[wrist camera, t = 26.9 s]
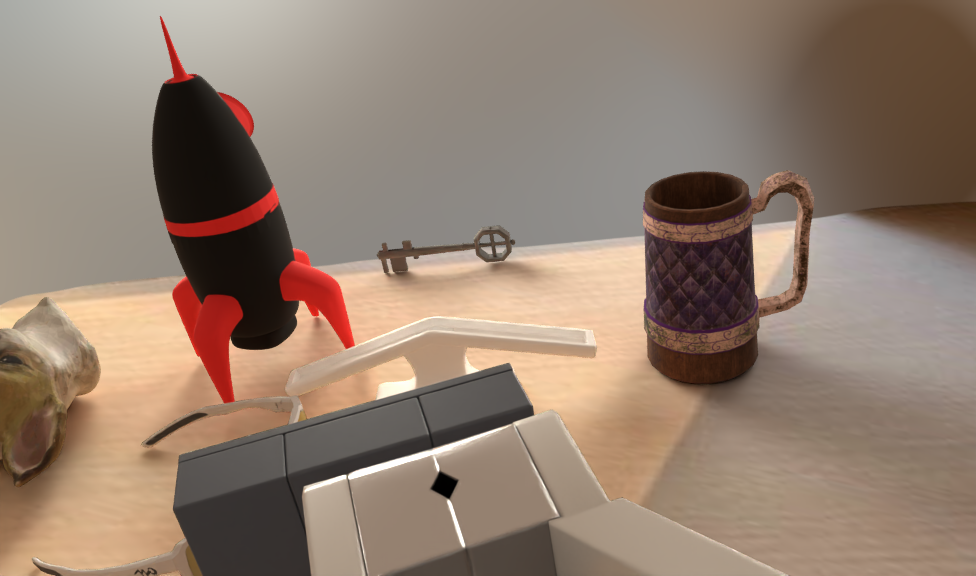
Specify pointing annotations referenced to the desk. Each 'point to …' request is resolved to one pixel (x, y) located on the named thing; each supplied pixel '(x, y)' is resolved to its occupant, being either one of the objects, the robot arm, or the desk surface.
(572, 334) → the t-shaped cleat
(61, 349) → the ceramic sculpture
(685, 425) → the desk surface
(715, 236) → the mug
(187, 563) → the sunglasses
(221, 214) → the toy rocket
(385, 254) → the key
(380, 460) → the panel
